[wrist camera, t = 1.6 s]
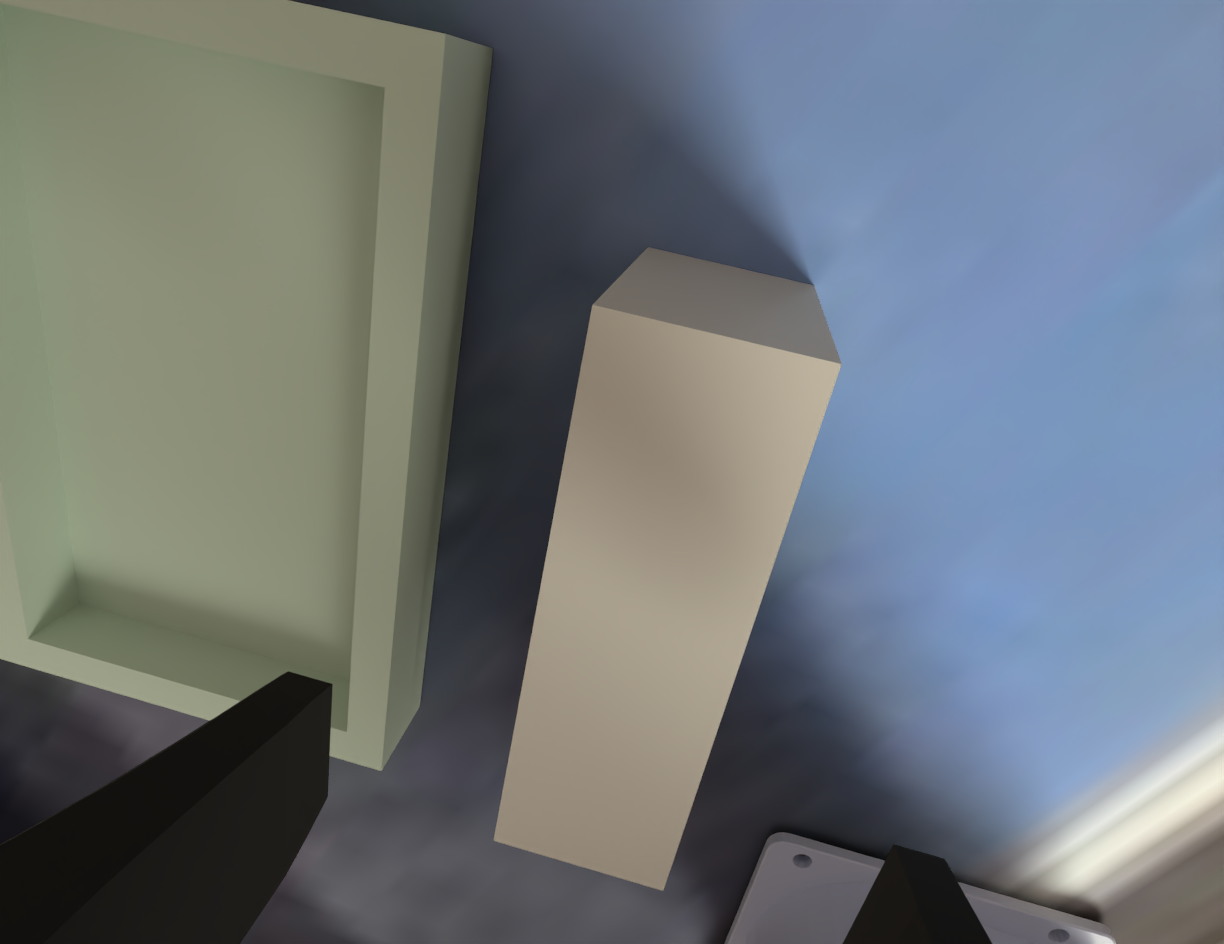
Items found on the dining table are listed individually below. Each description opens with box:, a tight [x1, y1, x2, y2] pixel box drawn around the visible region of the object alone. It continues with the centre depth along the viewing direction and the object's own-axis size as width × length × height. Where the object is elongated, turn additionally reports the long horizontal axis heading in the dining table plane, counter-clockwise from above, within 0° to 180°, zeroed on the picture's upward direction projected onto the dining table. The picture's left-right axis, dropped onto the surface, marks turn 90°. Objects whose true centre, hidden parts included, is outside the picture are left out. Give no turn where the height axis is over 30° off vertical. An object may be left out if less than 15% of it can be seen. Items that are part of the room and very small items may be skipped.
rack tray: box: [0, 0, 493, 771], centre depth 18 cm, size 11×17×2 cm, turn 169°
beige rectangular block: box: [494, 247, 841, 891], centre depth 16 cm, size 4×11×6 cm, turn 169°
